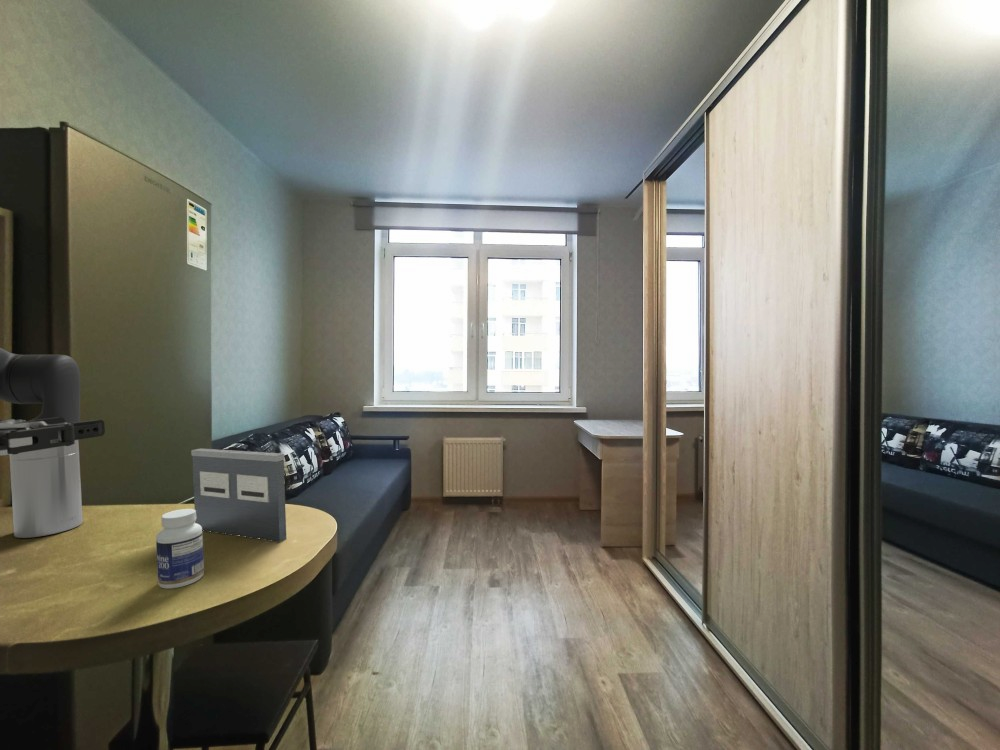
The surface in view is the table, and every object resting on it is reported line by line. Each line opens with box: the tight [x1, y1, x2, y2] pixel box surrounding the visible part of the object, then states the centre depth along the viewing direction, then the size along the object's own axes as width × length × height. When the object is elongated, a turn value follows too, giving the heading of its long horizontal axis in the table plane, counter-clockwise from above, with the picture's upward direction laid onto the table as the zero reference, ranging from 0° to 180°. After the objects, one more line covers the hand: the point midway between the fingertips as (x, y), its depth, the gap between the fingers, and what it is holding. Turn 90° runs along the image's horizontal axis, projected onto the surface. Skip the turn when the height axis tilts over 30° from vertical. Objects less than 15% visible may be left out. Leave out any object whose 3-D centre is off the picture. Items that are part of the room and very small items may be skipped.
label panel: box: [190, 448, 287, 543], centre depth 81 cm, size 20×2×15 cm, turn 71°
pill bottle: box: [155, 508, 205, 590], centre depth 64 cm, size 5×5×10 cm
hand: (82, 425), depth 62 cm, fingers open, 8 cm apart
